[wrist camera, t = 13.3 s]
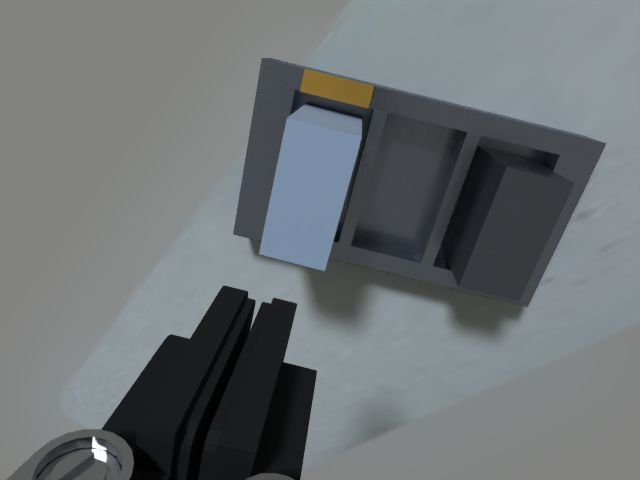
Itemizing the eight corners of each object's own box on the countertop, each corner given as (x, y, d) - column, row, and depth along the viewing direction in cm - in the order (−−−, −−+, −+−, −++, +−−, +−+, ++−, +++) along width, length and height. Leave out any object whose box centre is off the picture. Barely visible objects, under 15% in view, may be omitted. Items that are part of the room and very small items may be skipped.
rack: (271, 58, 27) (244, 57, 21) (583, 135, 28) (649, 157, 21) (243, 220, 32) (214, 259, 25) (514, 286, 32) (551, 342, 25)
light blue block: (306, 102, 27) (286, 117, 20) (362, 116, 27) (362, 137, 20) (283, 206, 30) (258, 254, 23) (334, 219, 30) (325, 271, 23)
